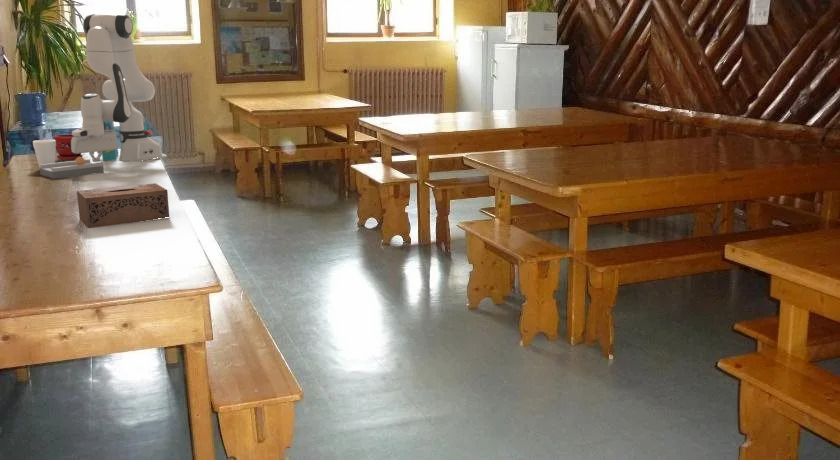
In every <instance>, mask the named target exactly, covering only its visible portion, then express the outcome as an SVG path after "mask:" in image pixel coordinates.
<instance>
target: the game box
mask: <svg viewBox="0 0 840 460" xmlns="http://www.w3.org/2000/svg"><path fill="white" fill-rule="evenodd" d="M103 123H104V130H110V129H113V130H115V124H114V123H115V122H105V121H103ZM115 131H116V130H115ZM113 132H114V131H113ZM118 156H119V148H118V149H117V150H108V151H102V155H101V158H102V162H106V161H115V160H117V158H118Z"/></svg>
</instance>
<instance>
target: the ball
mask: <svg viewBox="0 0 840 460" xmlns="http://www.w3.org/2000/svg"><path fill="white" fill-rule="evenodd" d="M85 160H86V159H85V158H84V157H78V158H77V159H76V160H74V161H75V162H76V164H77V165H83V164H85Z"/></svg>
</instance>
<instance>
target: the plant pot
mask: <svg viewBox="0 0 840 460" xmlns="http://www.w3.org/2000/svg"><path fill="white" fill-rule="evenodd" d="M72 137H74V136H73V135H72V133H71V134H70V133H69V134H68V133H67V134H57V135H54V136H53V140H56V153H57V155H56V157H57V159H58V160H60V161H63V162H69V161H76V159H77V158H78V157H82V158H84V156H83V154H82V153H79V154H75V153H73V152H72V150H71V139H72Z"/></svg>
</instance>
